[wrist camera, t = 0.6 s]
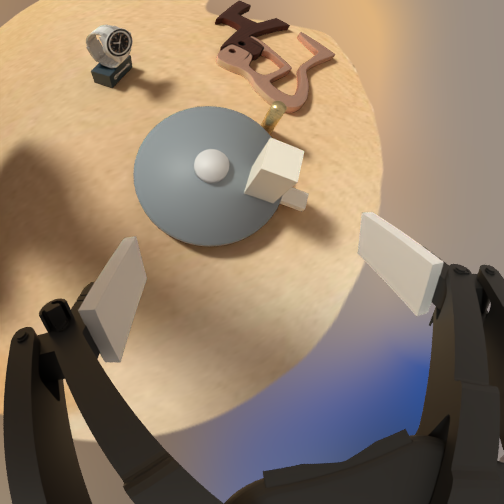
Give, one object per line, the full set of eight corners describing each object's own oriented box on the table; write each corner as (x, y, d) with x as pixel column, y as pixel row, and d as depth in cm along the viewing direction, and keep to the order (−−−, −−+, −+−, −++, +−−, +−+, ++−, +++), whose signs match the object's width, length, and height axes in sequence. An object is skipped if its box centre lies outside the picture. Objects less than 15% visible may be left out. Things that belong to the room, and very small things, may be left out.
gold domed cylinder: (256, 133, 39) (270, 107, 32) (260, 124, 39) (275, 98, 32) (268, 139, 39) (283, 114, 32) (272, 129, 39) (288, 105, 33)
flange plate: (112, 220, 31) (90, 198, 22) (169, 97, 34) (169, 55, 25) (287, 273, 36) (320, 269, 27) (314, 146, 39) (345, 116, 30)
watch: (121, 91, 34) (111, 44, 23) (87, 80, 33) (73, 37, 22) (141, 69, 35) (137, 23, 25) (108, 60, 34) (99, 16, 23)
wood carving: (237, 6, 43) (164, 46, 37) (239, 0, 41) (164, 38, 35) (339, 65, 46) (289, 120, 41) (344, 60, 44) (294, 114, 39)
